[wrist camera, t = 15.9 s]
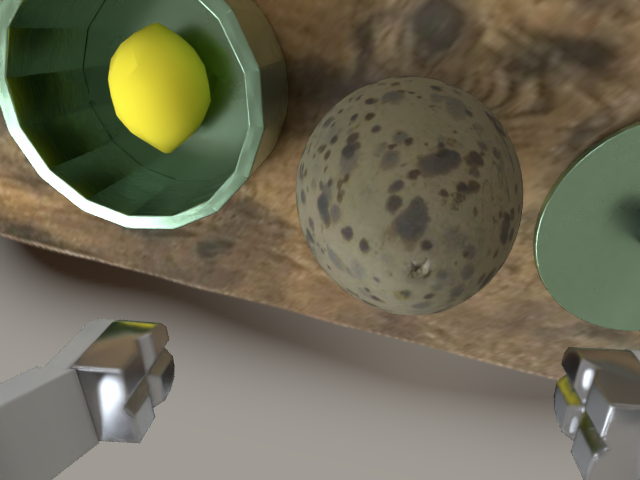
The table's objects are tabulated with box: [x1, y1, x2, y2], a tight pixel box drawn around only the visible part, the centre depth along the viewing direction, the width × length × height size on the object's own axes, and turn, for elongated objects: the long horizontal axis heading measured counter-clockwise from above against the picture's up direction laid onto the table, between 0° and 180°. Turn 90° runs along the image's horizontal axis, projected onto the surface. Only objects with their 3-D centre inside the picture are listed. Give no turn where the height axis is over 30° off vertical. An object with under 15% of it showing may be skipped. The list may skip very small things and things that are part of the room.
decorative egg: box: [296, 76, 523, 315], centre depth 22 cm, size 11×11×15 cm
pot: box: [0, 0, 288, 229], centre depth 25 cm, size 14×14×7 cm
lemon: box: [108, 23, 211, 153], centre depth 25 cm, size 7×5×5 cm
